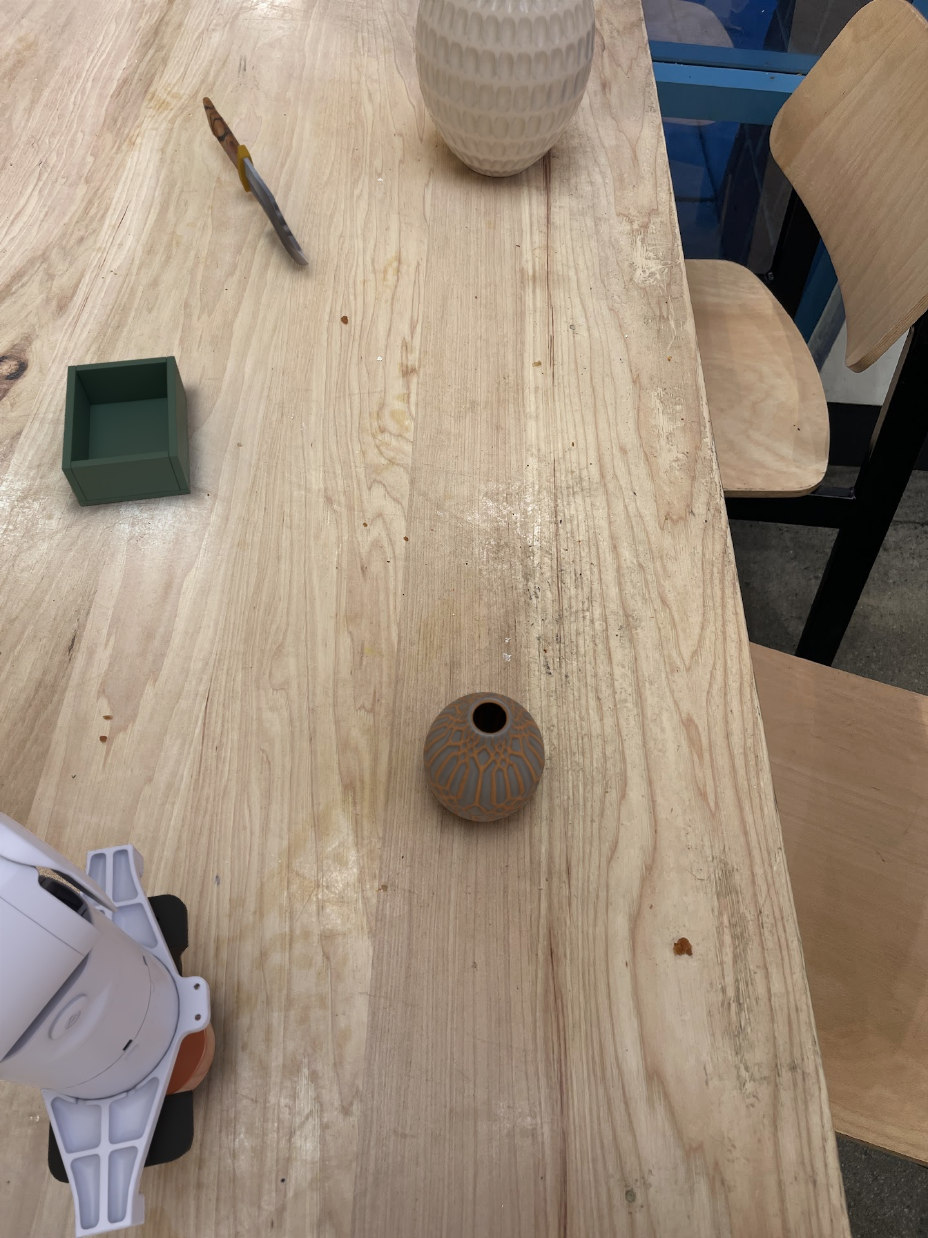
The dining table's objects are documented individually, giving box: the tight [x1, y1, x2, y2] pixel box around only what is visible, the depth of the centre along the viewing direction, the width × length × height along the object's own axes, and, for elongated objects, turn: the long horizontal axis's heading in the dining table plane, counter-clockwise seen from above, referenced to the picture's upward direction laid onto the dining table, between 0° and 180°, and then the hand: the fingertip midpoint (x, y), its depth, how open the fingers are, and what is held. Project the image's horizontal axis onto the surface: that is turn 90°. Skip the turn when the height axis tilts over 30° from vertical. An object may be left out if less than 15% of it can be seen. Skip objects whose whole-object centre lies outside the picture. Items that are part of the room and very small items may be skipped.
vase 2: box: [422, 691, 546, 822], centre depth 50 cm, size 7×7×9 cm
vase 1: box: [414, 0, 596, 178], centre depth 80 cm, size 16×16×22 cm
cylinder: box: [165, 1017, 216, 1095], centre depth 44 cm, size 5×5×2 cm
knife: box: [202, 96, 310, 267], centre depth 81 cm, size 25×1×5 cm, turn 28°
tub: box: [61, 355, 191, 507], centre depth 65 cm, size 8×10×4 cm
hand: (162, 1047), depth 44 cm, fingers open, 5 cm apart
